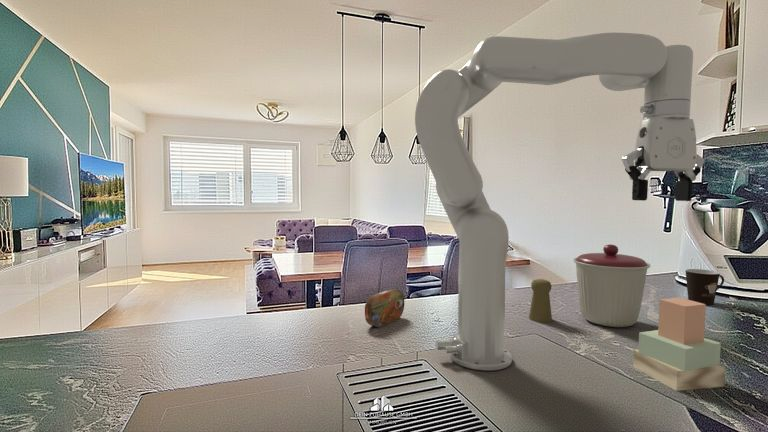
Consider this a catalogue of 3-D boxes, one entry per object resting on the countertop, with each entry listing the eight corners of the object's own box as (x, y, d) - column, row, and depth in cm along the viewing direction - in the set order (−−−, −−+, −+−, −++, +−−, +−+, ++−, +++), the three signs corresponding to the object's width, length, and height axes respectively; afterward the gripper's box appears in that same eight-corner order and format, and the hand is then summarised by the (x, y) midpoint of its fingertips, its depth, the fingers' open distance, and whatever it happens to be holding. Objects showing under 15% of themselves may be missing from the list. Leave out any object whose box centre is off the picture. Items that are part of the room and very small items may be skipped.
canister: (557, 315, 116) (559, 242, 115) (604, 309, 122) (606, 239, 121) (612, 336, 99) (615, 250, 98) (664, 328, 105) (667, 247, 104)
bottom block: (676, 393, 72) (677, 371, 72) (633, 369, 82) (633, 349, 82) (724, 388, 74) (725, 367, 74) (676, 365, 84) (677, 346, 83)
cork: (548, 316, 116) (549, 277, 115) (555, 322, 110) (556, 282, 109) (526, 315, 116) (527, 277, 116) (532, 322, 110) (532, 281, 110)
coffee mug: (690, 305, 127) (692, 273, 127) (679, 298, 135) (680, 268, 135) (735, 308, 124) (737, 275, 123) (721, 300, 132) (723, 270, 131)
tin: (371, 331, 103) (371, 298, 103) (362, 328, 105) (362, 296, 105) (405, 316, 115) (405, 287, 115) (396, 314, 117) (396, 285, 116)
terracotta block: (683, 344, 74) (685, 306, 74) (658, 335, 79) (659, 299, 78) (704, 341, 75) (705, 304, 75) (677, 332, 80) (679, 297, 80)
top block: (684, 371, 72) (685, 349, 72) (638, 352, 80) (639, 332, 80) (719, 364, 75) (720, 343, 75) (671, 347, 83) (672, 327, 83)
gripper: (641, 107, 75) (636, 200, 76) (722, 111, 77) (717, 201, 78) (612, 114, 82) (608, 199, 83) (688, 118, 85) (683, 200, 86)
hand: (661, 200), depth 81 cm, fingers open, 9 cm apart
